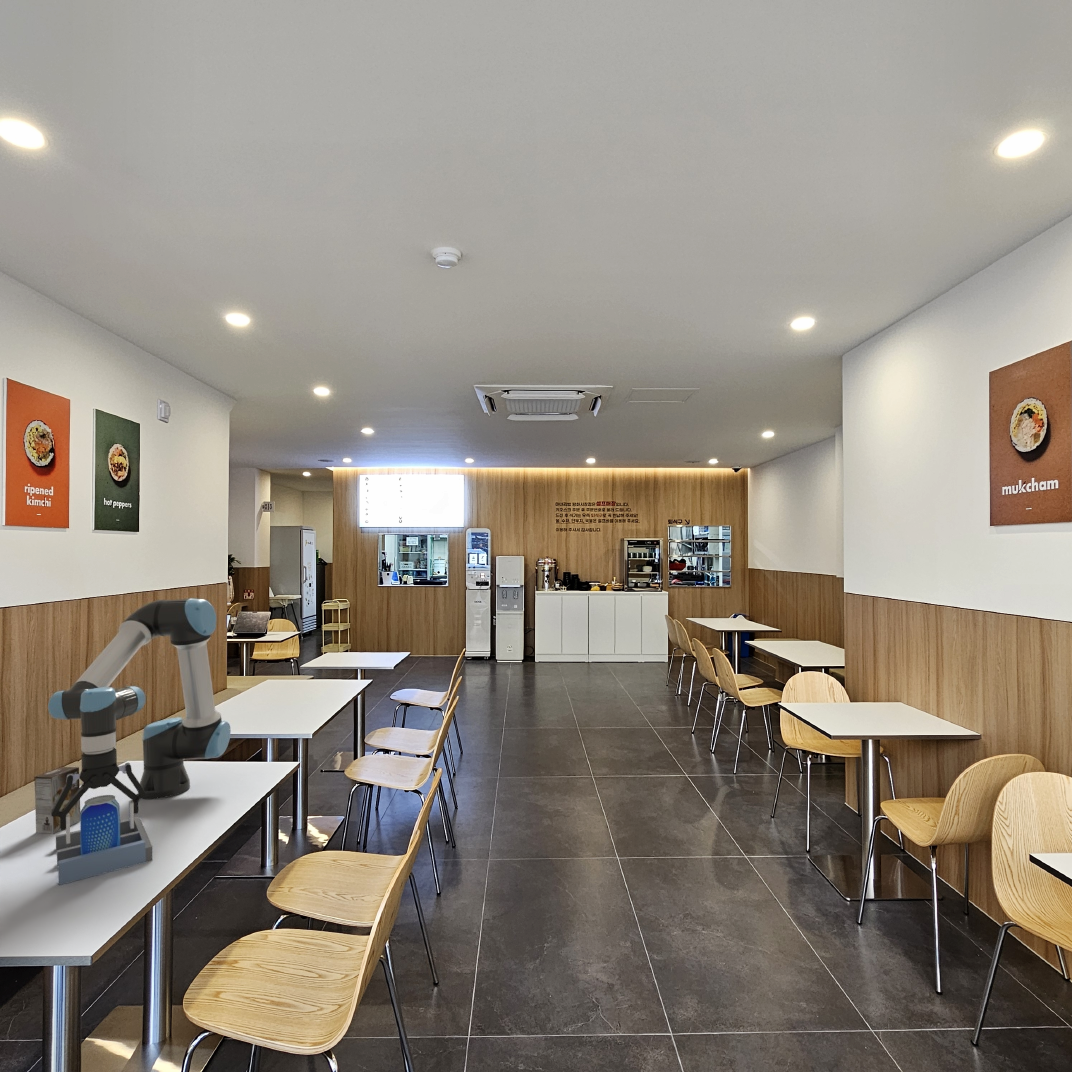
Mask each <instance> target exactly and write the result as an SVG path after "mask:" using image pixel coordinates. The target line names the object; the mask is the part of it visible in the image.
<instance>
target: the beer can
mask: <svg viewBox="0 0 1072 1072" xmlns="http://www.w3.org/2000/svg"><path fill="white" fill-rule="evenodd" d="M120 807H121V806H120V803H119V802H118V800H117V799H116V795H113V794H104V795H103V794H102V795H97V796H94V797H90V798H89V799H87V800H85V801H84V805H83V807H82V809H80V821H79V822H80V829H79V830H81V855H84V854H88V853H92V852H96V851H101V850H105V849H109V848H113V847H117V846H120V821H121V817H120V816H121V814H120V813H121V812H120V811H121V810H120Z"/></svg>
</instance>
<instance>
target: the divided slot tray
mask: <svg viewBox="0 0 1072 1072" xmlns="http://www.w3.org/2000/svg"><path fill="white" fill-rule="evenodd" d="M55 851H56V867H57V869H58V870H57V871H58V872H57V875H58V876H57V877H58V885H59V886H61V885H64V884H69V883H72V882H76V881H80V880H83V879H87V878H91V877H95V876H98V875H99V876H100V875H103V874H105V873H109V872H114V871H119V870H122V869H125V868H128V867H133V866H137V865H140V864H144V863H148V862H151V861H153V845H152V843H151V841H150V838H149V836H148V833H147V831H146V828H145V826H144V824H143V822H142V818H141V817H140V816H136V817H135V816H134V828H132V829H131V828H130V825H129V818H127V819H123V820H120V846H117V847H113V848H109V849H105V850H101V851H96V852H92V853H88V854H84V855H81V830H80V829H79V830H75V831H70V843H68V844H67V843H66V832H65V833H61V834H57V835H55Z"/></svg>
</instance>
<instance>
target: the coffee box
mask: <svg viewBox="0 0 1072 1072" xmlns="http://www.w3.org/2000/svg"><path fill="white" fill-rule="evenodd" d="M69 773H71V774H80V766H61V767H58V768H55V769H52V770H49V771H46V772H44V773H41V774H38V775H35V776H34V777H33V778H34V800H35V801H34V807H35V809H34V810H35V833H37V834H38V833H39V834H56V833H58V832H60V831H62V830H61V829H60V817H58V816H55V817H53V816H51V811H52V809H53V807H54V805H55V803H56V801H57V799H58V797H59V795H60V793H61V792H62V790H63V788H64V786H65V784H66V779H67V775H68V774H69ZM80 787H81V785H80V779H77V781H76V782H75V783H74V784H72V787H71V789H70V791H69V793H68V795H67V797H66V798H65V800H64V802H63V804H62V806H61V808H60V810H62V809H63V808H64V806H65V805H66V804H67V803H68V802H69V800H70V799H71V798H72V797H73V796H74V794H75V793H76V792H77V791H78V790H79V788H80ZM80 812H81V798H80V799H79V800H78V802H77V803H76V804H75V805H74V806H73V808H72V809H71V810H70V811H69V813H68V814H70V827H71V826H72V825H74V824H75V825H76V824H77V823H79V822H80Z"/></svg>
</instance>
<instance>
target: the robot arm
mask: <svg viewBox="0 0 1072 1072" xmlns="http://www.w3.org/2000/svg"><path fill="white" fill-rule="evenodd" d="M217 623H218V622H217V614H216V610H215V608H214V606H213V605H212V604H211V602H209V600H206V599H203V598H179V599H159V600H154V601H151V602H149V603H146V604H144V605H142V606H141V607H139V608H138V609H136V610H135V611H133V612H132V613H131V614H130V615H128V616H127V617H126V618H125V619H124V621H122V623H121V624H120V625H119V627H118V633H117V634H116V635H115V636H114V637H113V638H112V640H111V641H110V642H109V643H108V644H107V645H106V647H104V649H102V651H101V652H100V653H99V654H98V656H96V658H95V659H94V660H93V661H92V663H91V664H90V665H89V666H88V667H87V668H86V670H85V671H84V672H83V673H82V674H81V675H80V677H79V678H78V679H76V681H75V682H74V684H73V685H71V687H70V688H69V689H64V690H59V691H56V692H55V693H53V694H52V695H51V697H50V698H49V700H48V703H47V704H48V705H47V710H48V713H49V715H50V716H51V718H53V719H56V720H67V721H70V720H80V726H81V727H80V730H81V732H80V733H81V734H80V742H81V743H80V744H81V745H80V747H81V748H80V751H81V752H82V754H81V771H80V772H79V774H71V773H69V774H68V775H67V779H66V784H65V786H64V788H63V790H62V792H61V793H60V795H59V797H58V799H57V801H56V803H55V805H54V807H53V809H52V811H51V816H53V817H55V816H58V817H60V829H61V830H60V831H64V830H65V833H66V843H67V844H68V843H70V832H71V826H70V814H68V813H69V811H70V810H71V809H72V808H73V806H74V805H75V804H76V803H77V802H78V800H79V799H80V800H81V798H82V797H83V795H84V794H85V793H86V792H87V791H88V790H89V789H92V790H96V789H99V788H104V787H105V788H106V787H108V786H109V785H112V786H113V787H115V789H118V790H119V791H120V792H122V794H124V795H125V796H127V797H128V798H129V800H128V813H129V814H128V817H129V818H128V819H129V825H130V828H131V829H132V828H134V818H135V815H137V814H138V813H139V812H140V811H139V810H140V809H139V801H140V800H141V799H143V800H156V799H163V798H170V797H173V796H177V795H179V794H182V793H184V792H186V791H188V790H189V789H190V787H191V781H190V778H189V774H188V772H187V770H186V766H185V764H184V760H197V759H201V760H202V759H206V760H208V759H215V758H220V757H221V756H222V755H224V753H225V751H226V750H227V748H228V746H229V742H230V739H231V725H230V723H229V722H228V721H225V720H222V714H221V713H220V712H219V711H217V710H216V705H215V698H214V697H215V696H214V690H213V683H212V675H211V674H212V673H211V667H210V661H209V659H210V658H209V652H208V644H207V643H208V641H210V640H211V638H212V636H211V635H212V634H213V633H214V632H215V630H216V628H217ZM158 637H169V640H170V645H172V646H173V647H175V648H176V652H177V658H178V665H179V672H180V679H181V680H180V681H181V686H182V695H183V701H184V708H185V718H184V719H183V718H182V717H180V716H179V717H171V718H167V719H162V720H158V721H154V722H152V723H150V724H147V725H146V726H145V727H144V728H143V730H142V731H143V732H142V739H141V740H142V751H143V752H142V754H143V755H142V757H143V759H142V760H143V772H142V775H141V778H140V781H139V780H138V778H137V777H136V776H135V774H134V772H133V770H132V765H131V763H130V762H126V763H125V764H123V765H119V766H118V759H117V754H118V753H117V748H115V747H116V746H117V721H118V720H120V719H123V718H126V717H130V716H132V715H134V714H135V713H138V712H139V711H141V710H142V709H143V708H144V707H145V705H146V694H145V692H144V691H143V689H142V688H140V687H138V686H134V685H130V686H123V687H122V688H114V687H110V686H111V685H112V684H113V682H114V681H115V679H116V678H117V677H118V676H119V675H120V673H121V672H122V671H123V670H124V668H125V667H126V666H127V665H128V663H129V662H130V661H131V660H132V659H133V657H134V656H135V655H136V653H137V652H138V651H139V650H140V648H141V647H143V646H145V645H147V644H148V643H149V642H151V640H153V639H154V638H158ZM119 772H121V773H122V774H126V776H127V777H128V779H129V781H130V782H131V784H132V785H133V787H134V788H135V789H136V791H137V793H135V792H134V791H132V790H131V789H130V788H129V787H128V786H126V785H125V784H124V783H122V781H120V780H119V779H118V778H117V775H118V774H119ZM77 779H79V781H81V782H82V783H81V785H80V788H79V790H78V791H77V792H76V793H75V794H74V796H73V797H72V798H71V799H70V800H69V802H68V803H67V804H66V805H65V806H64V808H63V809H62V810H60V808H61V806H62V804H63V802H64V800H65V798H66V797H67V795H68V793H69V791H70V789H71V787H72V784H74V783H75V782H76V781H77ZM130 799H131V800H130Z"/></svg>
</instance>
